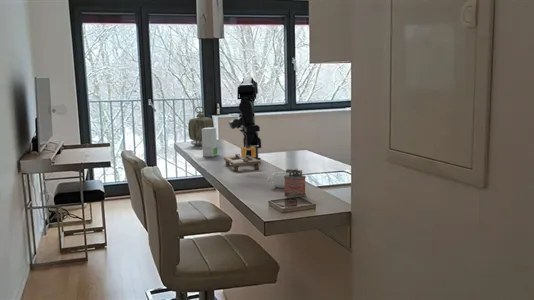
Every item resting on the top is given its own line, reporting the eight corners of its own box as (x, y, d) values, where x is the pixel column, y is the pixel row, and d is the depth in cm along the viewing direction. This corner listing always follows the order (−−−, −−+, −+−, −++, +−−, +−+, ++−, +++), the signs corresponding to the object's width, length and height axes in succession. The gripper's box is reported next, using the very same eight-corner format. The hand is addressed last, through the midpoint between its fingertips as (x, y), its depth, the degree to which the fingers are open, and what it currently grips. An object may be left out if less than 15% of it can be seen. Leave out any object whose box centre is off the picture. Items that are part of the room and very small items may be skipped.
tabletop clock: (214, 145, 326) (212, 106, 322) (207, 147, 318) (205, 107, 314) (195, 144, 332) (193, 106, 328) (187, 146, 323) (185, 107, 320)
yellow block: (241, 157, 235) (240, 141, 234) (253, 155, 237) (253, 140, 236) (243, 158, 232) (242, 142, 231) (255, 157, 234) (255, 141, 232)
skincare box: (213, 156, 280) (212, 128, 277) (202, 156, 281) (200, 128, 279) (217, 154, 288) (216, 127, 285) (206, 154, 289) (205, 127, 287)
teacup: (288, 184, 207) (288, 171, 206) (294, 188, 199) (294, 174, 198) (265, 186, 204) (264, 173, 203) (270, 190, 197) (270, 176, 196)
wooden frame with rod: (224, 164, 254) (223, 157, 254) (248, 162, 258) (248, 155, 258) (234, 171, 236) (233, 163, 235) (260, 169, 240) (260, 161, 239)
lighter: (306, 195, 187) (306, 168, 186) (304, 197, 184) (304, 170, 182) (286, 194, 190) (285, 167, 188) (283, 196, 187) (282, 169, 185)
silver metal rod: (235, 156, 254) (235, 154, 253) (239, 156, 254) (239, 153, 254) (243, 162, 239) (243, 159, 238) (248, 161, 239) (247, 158, 239)
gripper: (224, 110, 237) (226, 143, 240) (235, 114, 220) (236, 149, 222) (247, 109, 241) (248, 142, 243) (259, 112, 223) (260, 147, 226)
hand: (248, 145), depth 233 cm, fingers closed on yellow block, 2 cm apart
